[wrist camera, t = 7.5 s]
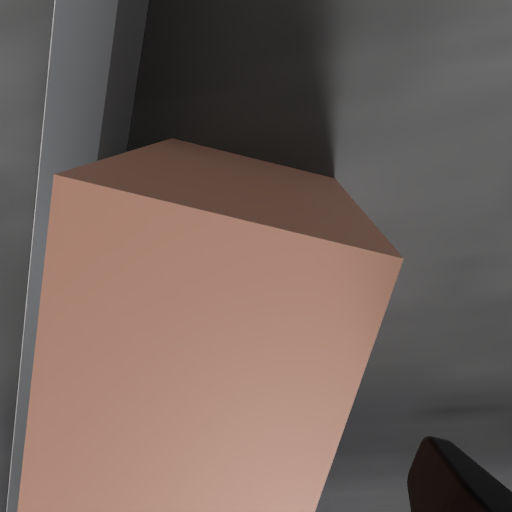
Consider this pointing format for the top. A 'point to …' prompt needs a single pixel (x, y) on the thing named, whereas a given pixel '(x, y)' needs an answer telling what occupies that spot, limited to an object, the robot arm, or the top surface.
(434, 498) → the robot arm
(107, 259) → the tea box
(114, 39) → the rail
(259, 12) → the top surface
